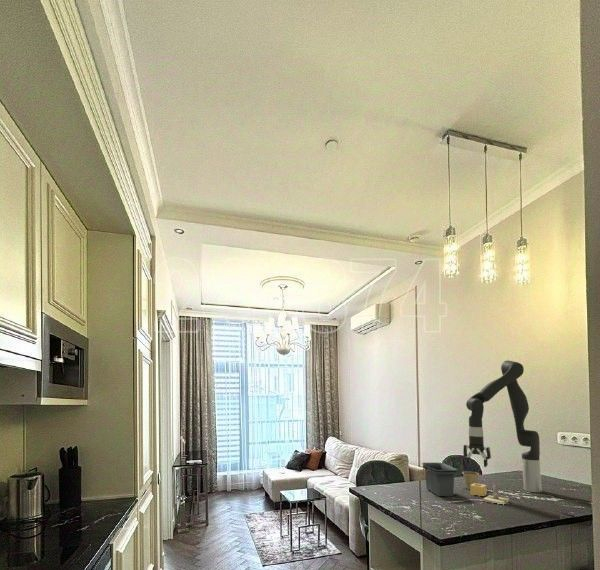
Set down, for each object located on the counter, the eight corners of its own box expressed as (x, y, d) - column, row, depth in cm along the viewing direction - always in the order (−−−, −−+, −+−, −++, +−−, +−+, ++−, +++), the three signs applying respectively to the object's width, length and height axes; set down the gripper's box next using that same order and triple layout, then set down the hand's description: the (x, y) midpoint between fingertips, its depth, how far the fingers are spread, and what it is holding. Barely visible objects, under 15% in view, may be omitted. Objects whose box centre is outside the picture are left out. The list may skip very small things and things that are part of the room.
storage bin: (460, 497, 255) (459, 469, 258) (433, 498, 253) (432, 469, 255) (442, 488, 276) (441, 462, 278) (417, 489, 273) (416, 462, 276)
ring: (474, 492, 267) (474, 483, 268) (486, 494, 263) (486, 485, 264) (470, 494, 262) (470, 485, 263) (482, 496, 258) (482, 487, 259)
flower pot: (463, 489, 274) (462, 473, 275) (462, 486, 282) (462, 470, 284) (480, 491, 271) (479, 475, 272) (479, 487, 280) (478, 472, 281)
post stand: (489, 498, 255) (488, 482, 257) (509, 501, 249) (508, 485, 251) (483, 501, 247) (482, 485, 249) (503, 505, 241) (502, 488, 243)
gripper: (491, 435, 267) (492, 466, 264) (465, 433, 275) (466, 463, 272) (487, 436, 261) (488, 468, 258) (460, 434, 270) (462, 465, 267)
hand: (477, 465), depth 265 cm, fingers open, 8 cm apart
